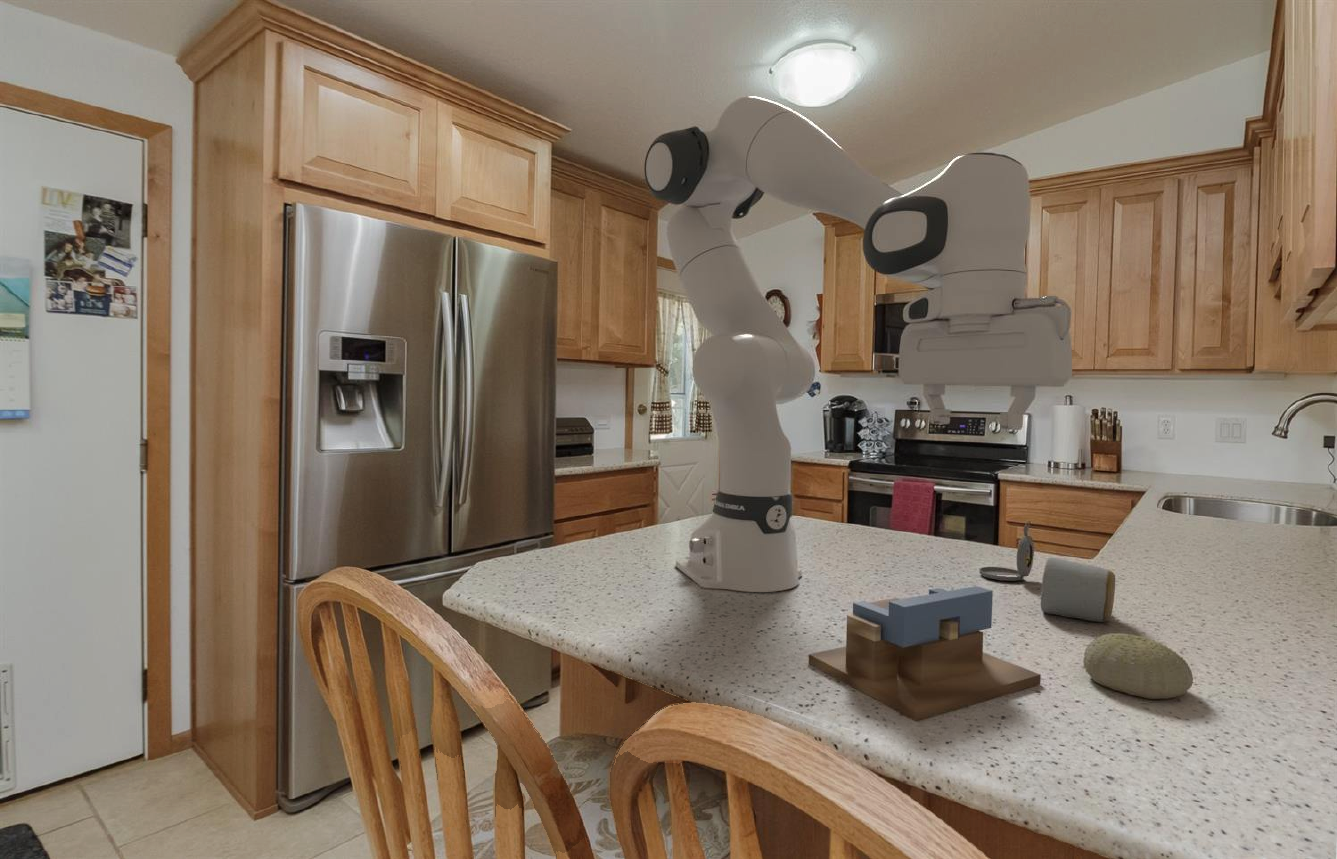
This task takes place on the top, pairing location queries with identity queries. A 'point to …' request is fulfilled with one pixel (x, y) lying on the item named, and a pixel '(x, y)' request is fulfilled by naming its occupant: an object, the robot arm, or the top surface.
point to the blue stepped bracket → (930, 614)
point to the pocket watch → (1023, 561)
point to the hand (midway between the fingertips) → (973, 426)
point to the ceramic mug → (1077, 590)
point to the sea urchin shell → (1137, 666)
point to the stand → (921, 669)
